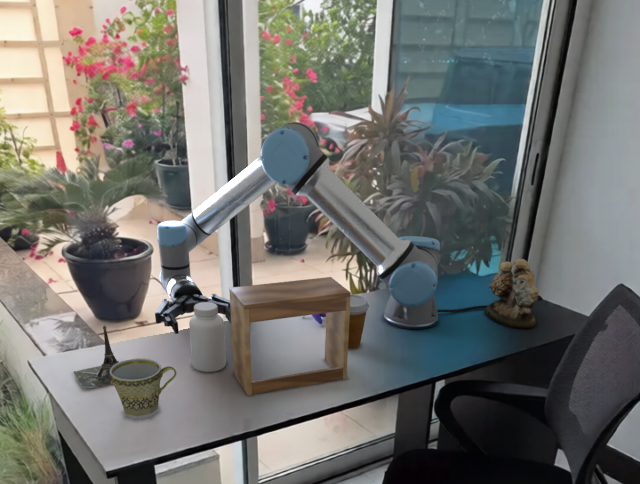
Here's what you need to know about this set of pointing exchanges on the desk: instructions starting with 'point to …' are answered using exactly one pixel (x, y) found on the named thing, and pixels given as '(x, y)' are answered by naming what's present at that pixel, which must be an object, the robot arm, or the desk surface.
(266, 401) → the desk surface
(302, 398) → the desk surface
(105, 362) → the eiffel tower souvenir
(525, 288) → the owl figurine
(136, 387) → the ceramic cup
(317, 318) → the game controller
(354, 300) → the disposable coffee cup
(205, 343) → the pill bottle
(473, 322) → the desk surface
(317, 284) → the open wooden shelf
